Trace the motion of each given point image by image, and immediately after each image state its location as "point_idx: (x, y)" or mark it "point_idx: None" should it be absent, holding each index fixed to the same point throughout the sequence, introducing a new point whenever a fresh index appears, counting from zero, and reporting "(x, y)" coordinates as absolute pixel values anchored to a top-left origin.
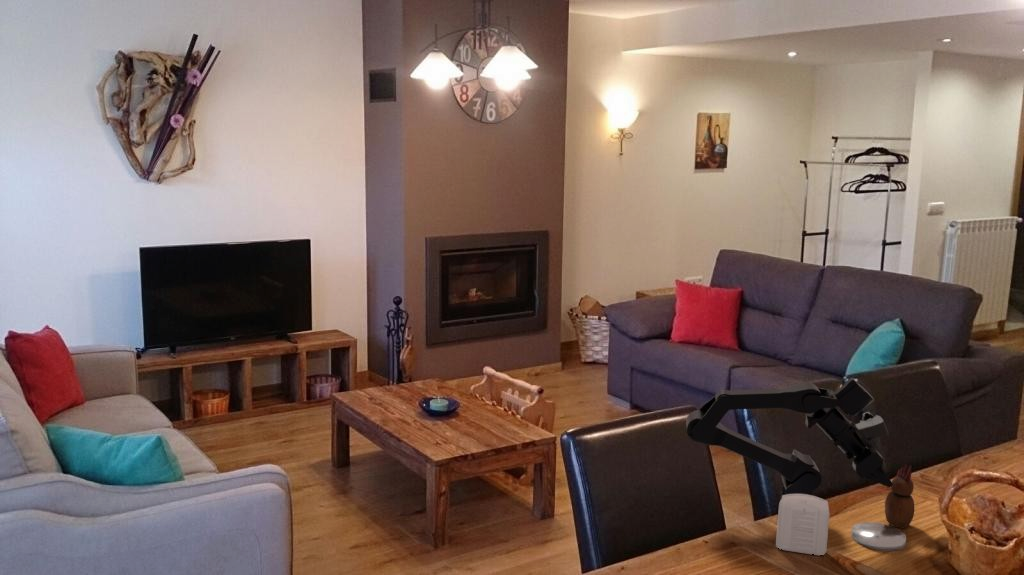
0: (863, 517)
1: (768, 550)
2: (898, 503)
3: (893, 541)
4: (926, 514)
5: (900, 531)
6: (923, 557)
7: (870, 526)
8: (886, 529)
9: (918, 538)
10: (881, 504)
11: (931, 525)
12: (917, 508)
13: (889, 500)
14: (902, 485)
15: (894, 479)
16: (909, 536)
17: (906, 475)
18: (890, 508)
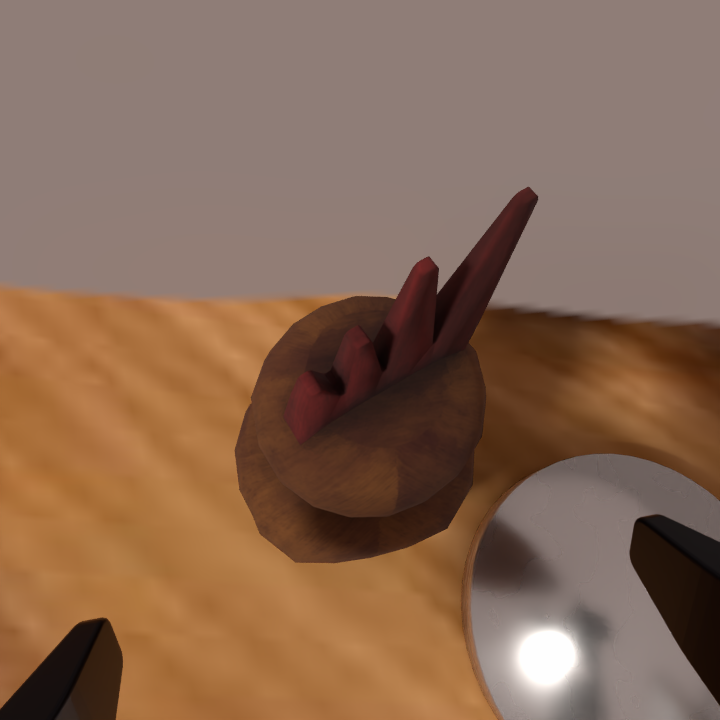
0: (293, 700)
1: None
2: (472, 467)
3: (711, 532)
4: (146, 316)
5: (544, 478)
6: (708, 393)
7: (553, 671)
8: (554, 562)
9: (489, 391)
10: (30, 557)
11: (293, 311)
12: (65, 351)
13: (410, 535)
14: (481, 404)
15: (403, 477)
16: (483, 432)
17: (449, 326)
18: (442, 529)
